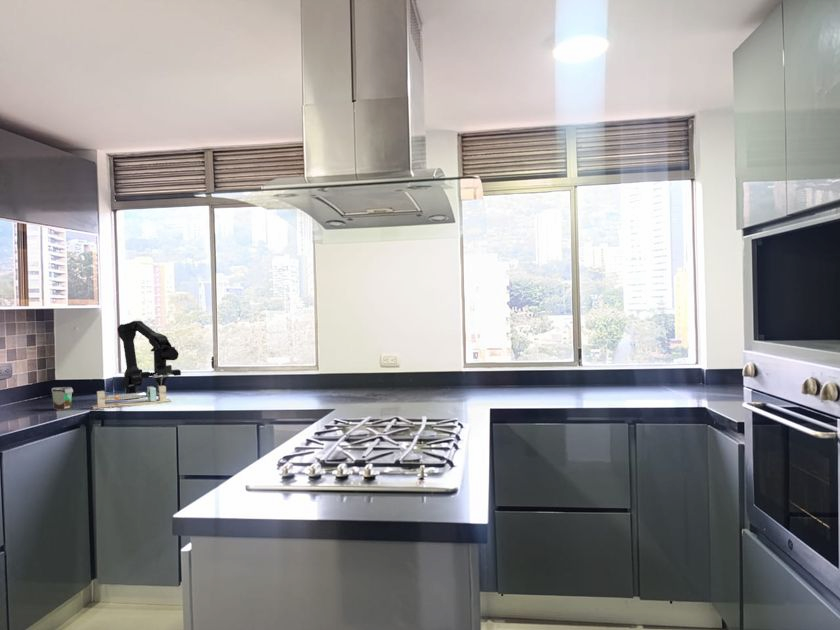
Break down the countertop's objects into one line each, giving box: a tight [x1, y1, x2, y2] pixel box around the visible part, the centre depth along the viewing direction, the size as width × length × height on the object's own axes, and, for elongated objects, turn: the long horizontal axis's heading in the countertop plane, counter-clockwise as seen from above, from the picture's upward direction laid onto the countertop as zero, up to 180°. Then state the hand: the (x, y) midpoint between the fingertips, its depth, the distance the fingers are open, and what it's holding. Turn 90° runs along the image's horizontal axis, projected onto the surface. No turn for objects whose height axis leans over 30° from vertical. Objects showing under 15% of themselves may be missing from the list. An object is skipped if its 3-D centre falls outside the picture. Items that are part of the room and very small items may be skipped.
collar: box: [146, 385, 157, 401], centre depth 293 cm, size 11×2×6 cm, turn 32°
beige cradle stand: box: [91, 385, 172, 410], centre depth 286 cm, size 10×34×8 cm, turn 122°
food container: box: [51, 386, 74, 411], centre depth 280 cm, size 12×6×10 cm, turn 59°
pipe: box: [96, 390, 159, 403], centre depth 286 cm, size 3×30×3 cm, turn 122°
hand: (161, 390), depth 298 cm, fingers closed
